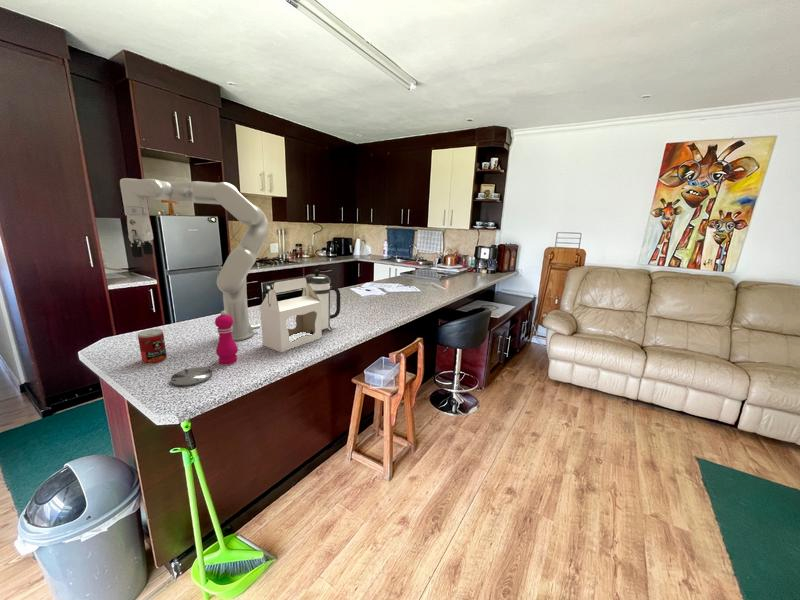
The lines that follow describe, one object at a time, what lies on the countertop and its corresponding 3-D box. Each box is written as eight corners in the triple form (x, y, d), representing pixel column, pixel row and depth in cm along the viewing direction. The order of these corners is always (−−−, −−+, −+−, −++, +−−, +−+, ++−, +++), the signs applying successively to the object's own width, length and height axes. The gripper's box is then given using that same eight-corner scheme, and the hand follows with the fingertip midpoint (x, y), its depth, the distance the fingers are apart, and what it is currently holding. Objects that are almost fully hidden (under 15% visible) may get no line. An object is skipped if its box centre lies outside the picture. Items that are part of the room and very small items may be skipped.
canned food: (148, 365, 121) (143, 337, 118) (138, 360, 125) (133, 332, 122) (171, 358, 127) (167, 331, 125) (161, 354, 131) (157, 327, 129)
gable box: (303, 332, 161) (301, 275, 155) (322, 338, 154) (320, 278, 147) (262, 345, 143) (257, 281, 137) (281, 352, 136) (277, 285, 129)
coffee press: (327, 336, 155) (327, 272, 149) (295, 333, 158) (294, 270, 151) (340, 326, 172) (341, 268, 165) (311, 323, 174) (311, 266, 168)
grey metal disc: (204, 367, 121) (203, 363, 121) (218, 377, 114) (218, 373, 114) (165, 378, 112) (165, 374, 112) (178, 390, 105) (177, 386, 105)
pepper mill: (230, 366, 123) (224, 314, 118) (212, 364, 124) (207, 312, 119) (242, 358, 129) (238, 309, 125) (226, 356, 131) (221, 307, 126)
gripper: (137, 212, 124) (145, 258, 128) (156, 212, 140) (162, 253, 144) (113, 211, 122) (121, 258, 126) (135, 211, 138) (142, 253, 142)
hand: (143, 255), depth 135 cm, fingers open, 9 cm apart
